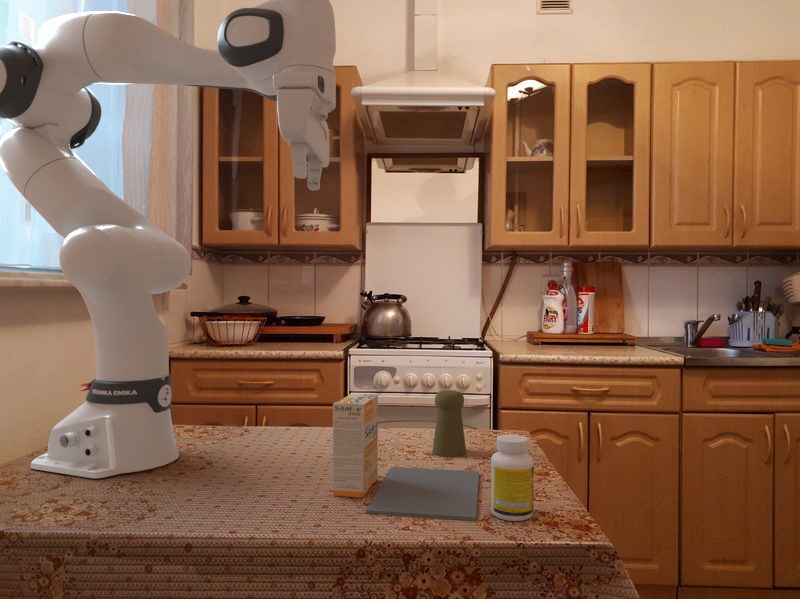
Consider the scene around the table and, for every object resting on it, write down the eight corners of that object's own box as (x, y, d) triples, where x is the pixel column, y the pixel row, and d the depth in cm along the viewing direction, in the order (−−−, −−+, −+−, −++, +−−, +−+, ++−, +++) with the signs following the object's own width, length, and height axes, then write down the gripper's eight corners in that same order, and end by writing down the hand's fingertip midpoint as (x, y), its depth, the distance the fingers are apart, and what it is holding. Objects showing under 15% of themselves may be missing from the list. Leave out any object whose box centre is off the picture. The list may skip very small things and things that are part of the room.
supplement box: (365, 499, 76) (365, 404, 76) (331, 496, 77) (331, 402, 77) (379, 479, 84) (379, 393, 84) (348, 477, 85) (348, 392, 85)
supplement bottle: (540, 521, 69) (540, 442, 69) (498, 524, 68) (499, 444, 68) (523, 504, 74) (524, 431, 74) (484, 507, 73) (485, 433, 73)
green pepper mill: (473, 453, 98) (473, 391, 97) (446, 459, 94) (447, 395, 94) (451, 445, 103) (451, 386, 102) (425, 451, 99) (425, 389, 99)
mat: (366, 513, 71) (366, 510, 71) (391, 469, 89) (391, 466, 89) (475, 520, 69) (475, 517, 69) (479, 474, 87) (479, 471, 87)
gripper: (302, 116, 97) (302, 195, 97) (269, 69, 77) (269, 169, 77) (338, 116, 97) (337, 195, 97) (314, 69, 76) (314, 169, 77)
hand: (307, 183), depth 87 cm, fingers open, 8 cm apart
